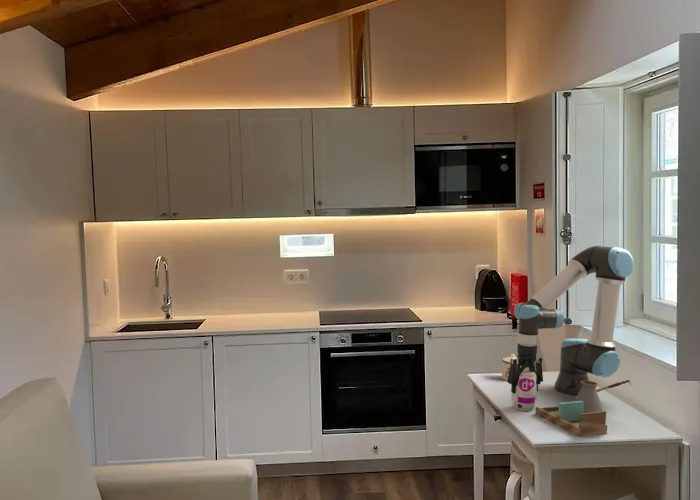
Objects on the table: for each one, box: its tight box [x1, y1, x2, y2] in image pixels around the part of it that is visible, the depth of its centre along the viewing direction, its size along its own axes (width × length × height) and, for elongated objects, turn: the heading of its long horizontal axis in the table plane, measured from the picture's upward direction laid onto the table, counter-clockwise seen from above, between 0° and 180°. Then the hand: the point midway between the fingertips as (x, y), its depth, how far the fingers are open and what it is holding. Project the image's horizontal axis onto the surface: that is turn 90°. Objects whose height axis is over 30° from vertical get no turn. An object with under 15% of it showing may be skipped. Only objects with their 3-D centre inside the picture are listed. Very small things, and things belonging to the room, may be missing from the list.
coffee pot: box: [574, 379, 632, 413], centre depth 252 cm, size 21×12×15 cm, turn 83°
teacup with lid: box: [501, 353, 529, 382], centre depth 301 cm, size 12×9×12 cm
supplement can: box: [512, 368, 536, 412], centre depth 258 cm, size 8×8×15 cm
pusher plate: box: [558, 400, 584, 422], centre depth 242 cm, size 2×10×7 cm, turn 111°
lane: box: [534, 405, 608, 437], centre depth 242 cm, size 24×13×8 cm, turn 21°
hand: (524, 400), depth 258 cm, fingers closed on supplement can, 8 cm apart
